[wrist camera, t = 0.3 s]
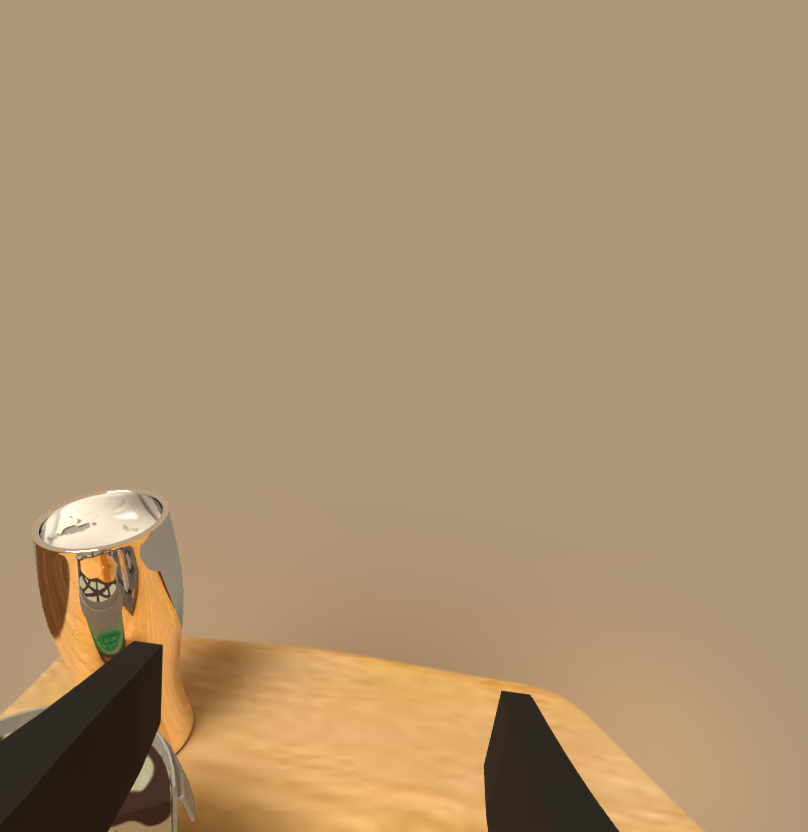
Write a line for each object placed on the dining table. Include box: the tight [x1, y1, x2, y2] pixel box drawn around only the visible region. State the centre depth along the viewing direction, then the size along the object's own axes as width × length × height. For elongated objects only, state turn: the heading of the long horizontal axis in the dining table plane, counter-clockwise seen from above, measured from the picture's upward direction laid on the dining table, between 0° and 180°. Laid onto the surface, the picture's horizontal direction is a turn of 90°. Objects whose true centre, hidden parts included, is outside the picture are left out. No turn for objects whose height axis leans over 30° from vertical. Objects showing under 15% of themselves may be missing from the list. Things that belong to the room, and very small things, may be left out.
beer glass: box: [31, 489, 193, 754], centre depth 35 cm, size 7×7×15 cm
